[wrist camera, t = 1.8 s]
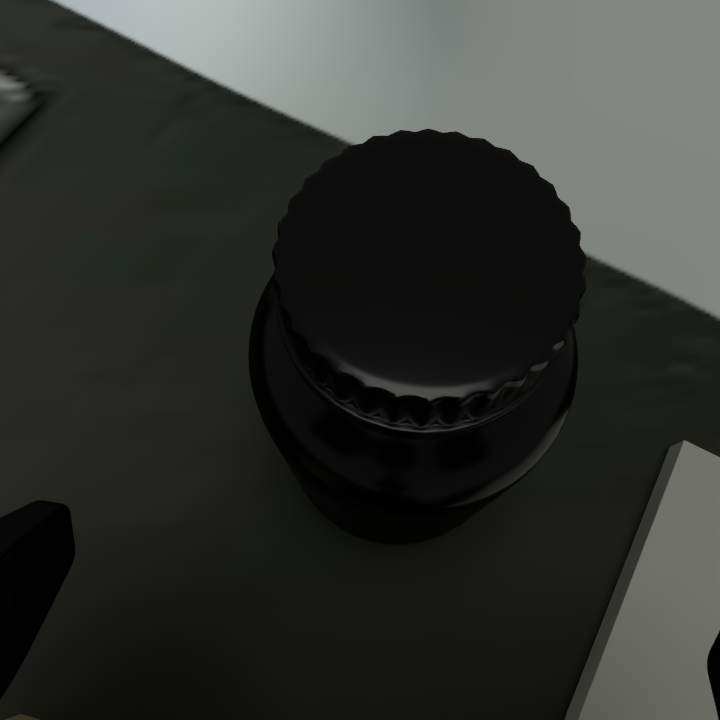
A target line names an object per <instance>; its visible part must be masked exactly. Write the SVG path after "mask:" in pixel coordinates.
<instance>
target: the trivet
mask: <svg viewBox="0 0 720 720" xmlns="http://www.w3.org/2000/svg"><path fill="white" fill-rule="evenodd" d="M719 631H720V457H718V456H716V455H714V454H712V453H710V452H708V451H705V450H703V449H701V448H699V447H697V446H695V445H693V444H691V443H689V442H687V441H685V440H684V441H682V442H679V443H677V444H675V445H673V446H671V447H669V450H668V453H667V455H666V458H665V460H664V463H663V466H662V468H661V471H660V473H659V476H658V478H657V481H656V484H655V486H654V489H653V491H652V494H651V497H650V499H649V502H648V504H647V507H646V510H645V512H644V515H643V517H642V520H641V522H640V525H639V528H638V530H637V533H636V535H635V538H634V541H633V543H632V546H631V548H630V551H629V553H628V556H627V559H626V561H625V564H624V566H623V569H622V572H621V574H620V577H619V579H618V582H617V584H616V587H615V590H614V592H613V595H612V597H611V600H610V603H609V605H608V608H607V610H606V613H605V615H604V618H603V621H602V623H601V626H600V628H599V631H598V634H597V636H596V639H595V641H594V644H593V647H592V649H591V652H590V654H589V657H588V659H587V662H586V665H585V667H584V670H583V672H582V675H581V678H580V680H579V683H578V685H577V688H576V690H575V693H574V696H573V698H572V701H571V703H570V706H569V709H568V711H567V714H566V716H565V719H564V720H719V719H718V715H717V711H716V706H715V702H714V698H713V694H712V689H711V685H710V681H709V676H708V671H707V659H708V654H709V651H710V649H711V647H712V645H713V643H714V641H715V639H716V637H717V635H718V633H719Z"/></svg>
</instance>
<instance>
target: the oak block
mask: <svg viewBox="0 0 720 720" xmlns="http://www.w3.org/2000/svg"><path fill="white" fill-rule="evenodd" d="M6 720H40V719H36V718H33V717H30V716H26V715H23V714H19V715H16V716H14V717H11V718H8V719H6Z"/></svg>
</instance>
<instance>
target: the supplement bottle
mask: <svg viewBox="0 0 720 720" xmlns="http://www.w3.org/2000/svg"><path fill="white" fill-rule="evenodd" d="M580 235H581V234H580V231H579V229H578V228H577V227H576V225H574V224H573V222H572V221H571V214H570V209H569V207H568V206H567V205H566V204H565V203H564V202H563V201H561V200H560V199H559V198H558V197H557V193H556V191H555V188H554V186H553V185H552V184H551V183H549V182H548V181H546V180H545V179H543V178H541V177H540V176H539V174H538V172H537V171H536V169H535V168H534V166H532V165H530V164H528V163H525V162H522V161H520V160H519V159H518V158H517V157H516V156H515V155H514V154H513V153H512V152H511V151H510V150H506V149H502V148H498V147H495V146H493V145H492V144H491V143H489V142H488V141H486V140H485V139H480V138H469V137H467V136H465V135H463V134H461V133H459V132H448V133H441V132H438V131H435V130H431V129H425V130H421V131H418V132H411V131H403V130H400V131H398V132H395V133H393V134H391V135H389V136H373V137H371V138H370V139H368V140H367V141H366V142H364V143H363V144H357V145H352V146H348V147H347V148H346V149H345V150H344V151H343V152H342V153H341V154H340V155H339V156H336V157H333V158H331V159H328V160H325V162H324V163H323V164H322V166H321V168H320V170H319V171H318V172H316V173H314V174H312V175H310V176H309V177H307V178H306V179H305V181H304V183H303V186H302V189H301V191H300V192H298V193H297V194H296V195H294V196H293V197H292V198H291V199H290V200H289V205H288V213H287V214H286V215H285V216H284V217H283V218H282V219H281V221H280V222H279V223H278V238H279V239H278V241H277V242H276V243H275V246H274V248H273V250H272V258H273V262H274V265H275V271H274V274H273V275H272V277H271V278H270V280H269V282H268V283H267V285H266V287H265V289H264V291H263V293H262V295H261V298H260V300H259V303H258V305H257V308H256V311H255V314H254V318H253V322H252V327H251V333H250V339H249V354H248V356H249V372H250V379H251V385H252V389H253V393H254V397H255V400H256V403H257V406H258V409H259V411H260V414H261V417H262V419H263V422H264V424H265V426H266V428H267V430H268V432H269V433H270V435H271V437H272V439H273V441H274V442H275V444H276V446H277V447H278V449H279V451H280V452H281V454H282V456H283V457H284V459H285V461H286V462H287V464H288V465H289V467H290V469H291V470H292V472H293V474H294V475H295V477H296V479H297V480H298V482H299V484H300V485H301V487H302V488H303V490H304V492H305V493H306V495H307V496H308V497H309V499H310V500H311V501H312V502H313V504H314V505H315V506H316V507H317V508H318V509H319V511H320V512H321V513H322V514H323V515H324V516H326V517H327V518H328V519H329V520H330V521H332V522H333V523H334V524H336V525H337V526H339V527H340V528H342V529H344V530H346V531H347V532H349V533H351V534H353V535H356V536H358V537H361V538H364V539H367V540H370V541H375V542H380V543H387V544H409V543H417V542H421V541H426V540H429V539H432V538H435V537H438V536H440V535H442V534H444V533H447V532H448V531H450V530H452V529H454V528H455V527H457V526H459V525H461V524H462V523H463V522H465V521H466V520H467V519H469V518H470V517H471V516H473V515H474V514H475V513H477V512H478V511H480V510H481V509H482V508H484V507H485V506H486V505H488V504H489V503H490V502H492V501H493V500H494V499H496V498H497V497H498V496H500V495H501V494H502V493H504V492H505V491H506V490H508V489H509V488H510V487H512V486H513V485H514V484H516V483H517V482H518V481H520V480H521V479H522V478H523V477H524V476H525V475H526V474H527V473H528V472H529V471H530V470H532V468H533V467H534V466H535V465H536V464H537V463H538V462H539V461H540V459H541V458H542V457H543V456H544V455H545V454H546V452H547V451H548V450H549V448H550V447H551V445H552V444H553V442H554V441H555V440H556V438H557V436H558V434H559V433H560V431H561V429H562V427H563V425H564V423H565V420H566V418H567V416H568V413H569V411H570V407H571V404H572V401H573V397H574V392H575V387H576V381H577V370H578V352H577V343H576V336H575V330H574V327H573V325H574V324H575V322H576V321H577V319H578V317H579V312H580V305H579V301H580V299H581V297H582V296H583V294H584V293H585V290H586V282H585V277H584V274H583V270H584V267H585V264H586V260H587V258H586V256H585V254H584V252H583V251H582V249H581V247H580V245H579V244H580Z"/></svg>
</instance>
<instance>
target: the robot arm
mask: <svg viewBox="0 0 720 720" xmlns="http://www.w3.org/2000/svg"><path fill="white" fill-rule="evenodd" d="M74 556H75V543H74V535H73V528H72V521H71V514H70V510H69V508H68V507H67V506H66V505H64V504H62V503H56V502H49V501H43V500H41V501H35V502H32V503H30V504H28V505H26V506H24V507H22V508H20V509H17V510H15V511H13V512H11V513H9V514H7V515H5V516H3V517H1V518H0V699H1V698H2V696H3V695H4V693H5V691H6V690H7V688H8V687H9V685H10V683H11V682H12V680H13V678H14V677H15V675H16V673H17V672H18V670H19V668H20V667H21V665H22V663H23V661H24V659H25V657H26V655H27V653H28V652H29V650H30V648H31V646H32V644H33V642H34V640H35V638H36V636H37V634H38V632H39V630H40V628H41V626H42V624H43V622H44V620H45V618H46V616H47V614H48V612H49V610H50V608H51V606H52V604H53V602H54V600H55V598H56V596H57V594H58V592H59V590H60V588H61V586H62V584H63V582H64V580H65V578H66V576H67V574H68V572H69V570H70V568H71V566H72V563H73V560H74ZM707 671H708V676H709V681H710V685H711V689H712V694H713V698H714V702H715V706H716V711H717V715H718V719H719V720H720V631H719V633H718V635H717V637H716V639H715V641H714V643H713V645H712V647H711V649H710V651H709V654H708V659H707Z"/></svg>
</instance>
